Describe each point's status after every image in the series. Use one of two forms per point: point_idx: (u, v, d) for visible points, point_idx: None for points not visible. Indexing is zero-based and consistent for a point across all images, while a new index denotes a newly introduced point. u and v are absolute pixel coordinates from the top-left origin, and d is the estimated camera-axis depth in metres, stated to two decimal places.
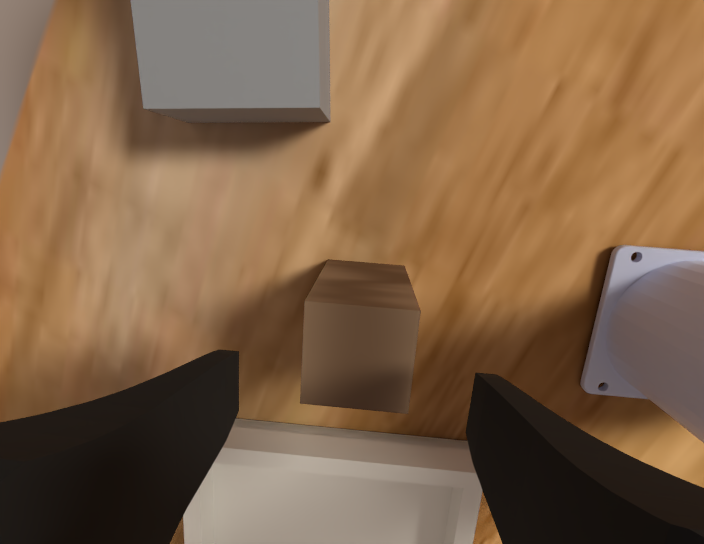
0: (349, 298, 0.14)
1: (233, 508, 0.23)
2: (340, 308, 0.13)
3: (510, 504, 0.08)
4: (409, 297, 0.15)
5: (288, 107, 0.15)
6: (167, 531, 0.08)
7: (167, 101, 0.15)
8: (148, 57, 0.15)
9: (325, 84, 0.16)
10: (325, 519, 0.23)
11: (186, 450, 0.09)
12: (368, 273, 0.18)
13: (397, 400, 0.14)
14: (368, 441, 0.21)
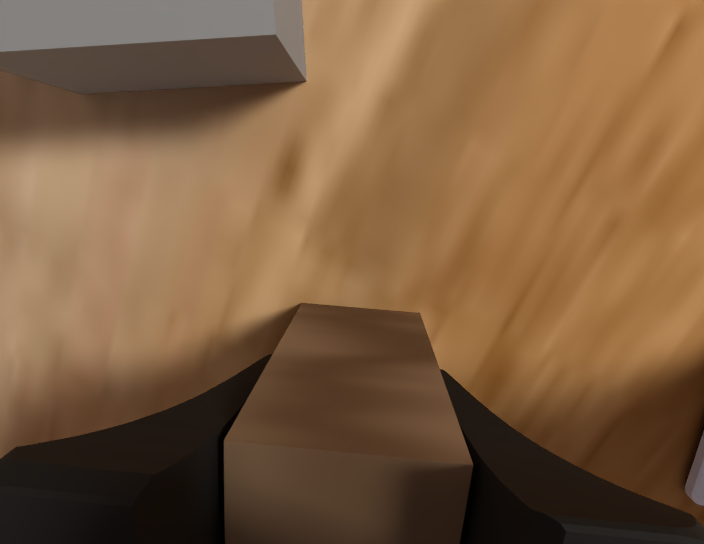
0: (322, 421, 0.07)
1: None
2: (300, 455, 0.06)
3: None
4: (441, 407, 0.07)
5: (216, 37, 0.08)
6: None
7: None
8: None
9: (290, 6, 0.09)
10: None
11: None
12: (364, 334, 0.11)
13: None
14: None
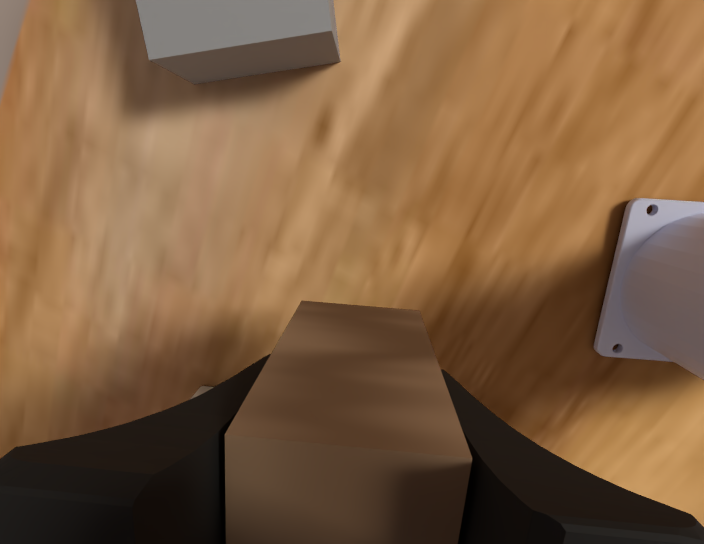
0: (322, 415, 0.07)
1: None
2: (300, 449, 0.06)
3: None
4: (441, 402, 0.08)
5: (298, 35, 0.14)
6: None
7: (172, 48, 0.14)
8: (148, 3, 0.14)
9: (332, 14, 0.15)
10: None
11: None
12: (364, 331, 0.11)
13: None
14: None
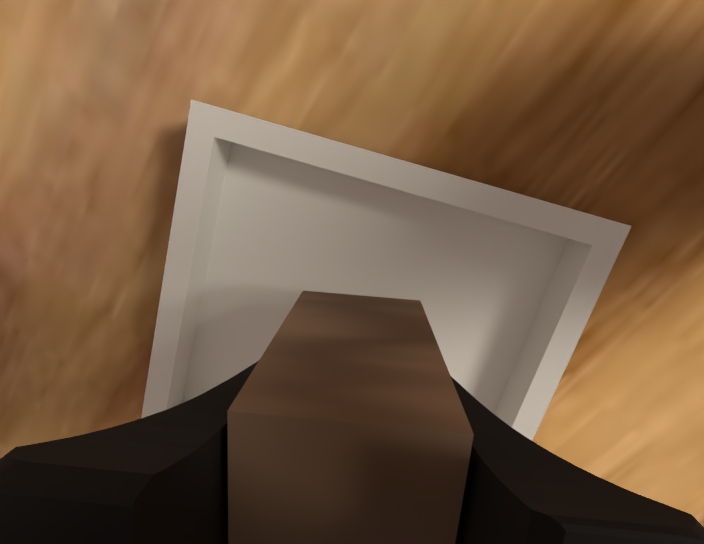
0: (324, 394, 0.07)
1: (238, 259, 0.16)
2: (302, 425, 0.06)
3: None
4: (442, 384, 0.08)
5: None
6: None
7: None
8: None
9: None
10: None
11: None
12: (365, 318, 0.11)
13: None
14: None
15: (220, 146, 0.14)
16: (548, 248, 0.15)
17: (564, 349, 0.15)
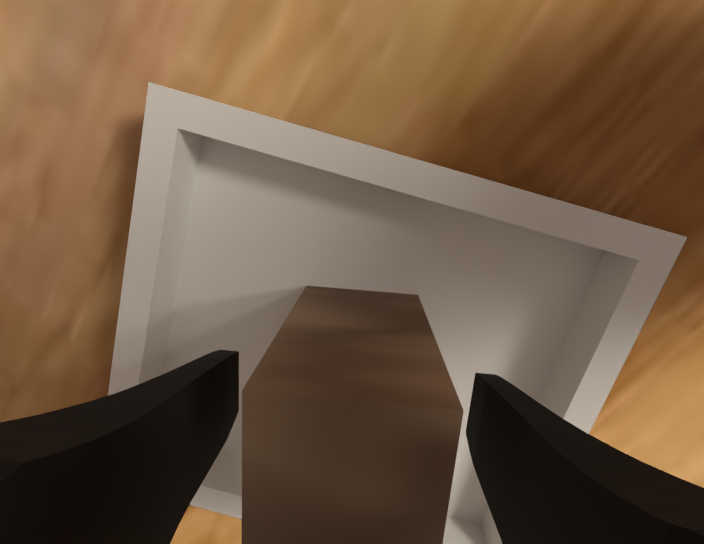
0: (328, 377, 0.08)
1: (213, 274, 0.14)
2: (309, 403, 0.07)
3: (510, 504, 0.08)
4: (436, 368, 0.08)
5: None
6: (168, 531, 0.08)
7: None
8: None
9: None
10: None
11: (187, 449, 0.09)
12: (365, 311, 0.11)
13: None
14: None
15: (187, 140, 0.12)
16: (580, 262, 0.13)
17: (601, 384, 0.12)
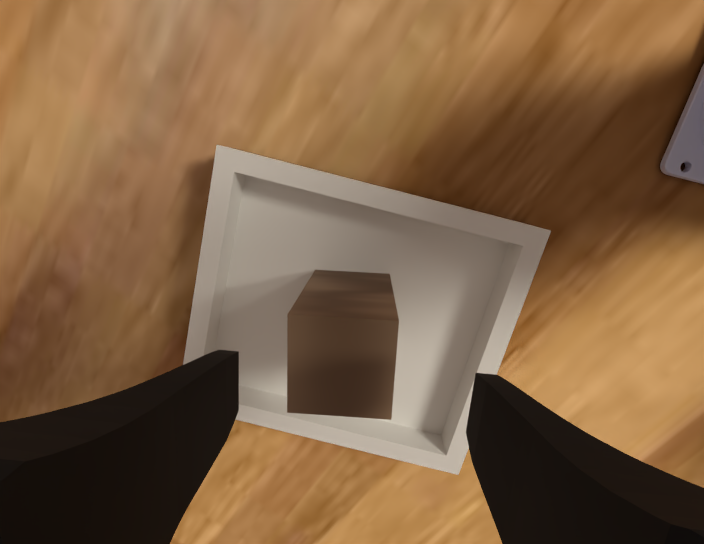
0: (331, 309, 0.14)
1: (252, 264, 0.21)
2: (321, 320, 0.14)
3: (511, 504, 0.08)
4: (390, 307, 0.15)
5: None
6: (168, 531, 0.08)
7: None
8: None
9: None
10: None
11: (187, 450, 0.09)
12: (353, 282, 0.18)
13: (380, 406, 0.14)
14: None
15: (238, 177, 0.19)
16: (495, 248, 0.20)
17: (507, 326, 0.19)
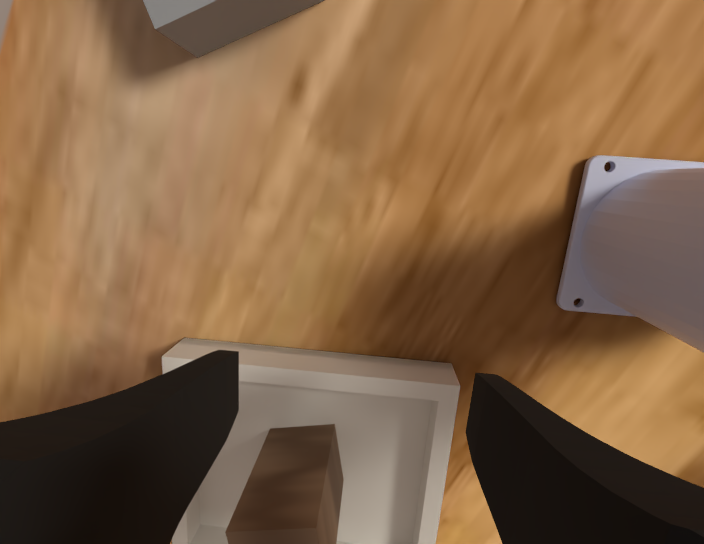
0: (264, 515, 0.17)
1: None
2: (253, 533, 0.16)
3: (511, 504, 0.08)
4: (316, 499, 0.18)
5: None
6: (167, 531, 0.08)
7: (173, 12, 0.15)
8: None
9: None
10: None
11: (187, 449, 0.09)
12: (297, 451, 0.21)
13: None
14: (347, 360, 0.22)
15: None
16: None
17: (441, 466, 0.21)
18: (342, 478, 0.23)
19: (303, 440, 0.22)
